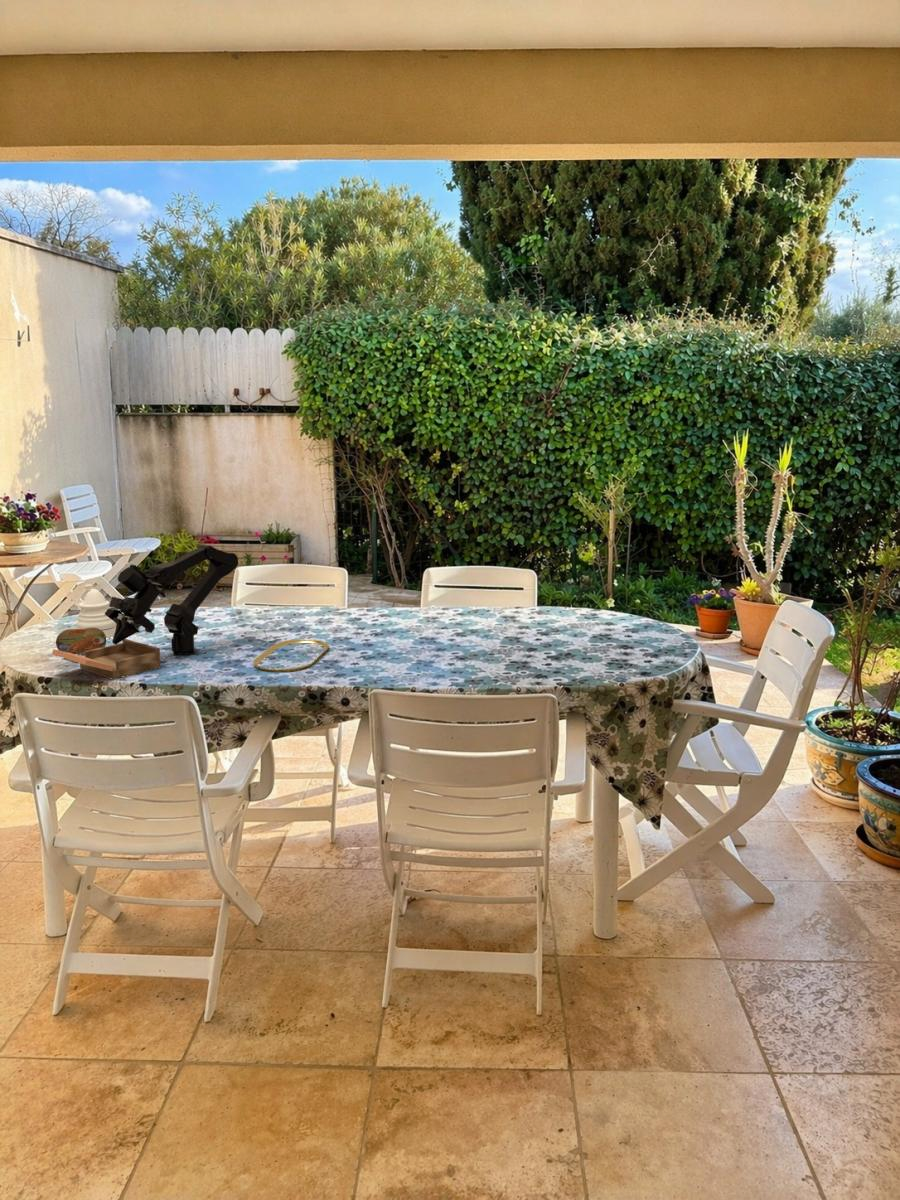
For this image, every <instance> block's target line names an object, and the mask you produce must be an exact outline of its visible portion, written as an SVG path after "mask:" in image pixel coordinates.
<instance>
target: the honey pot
mask: <svg viewBox="0 0 900 1200" xmlns="http://www.w3.org/2000/svg"><path fill="white" fill-rule="evenodd" d="M84 589H85V590H86V591H88V592H87V593H86V595H85V597H84V599H83V601H82V602H79V603H78V607H79V608H80V611H79V612H78V617H77V622H76V629H79V628H92V627H94V628H98V629H100V630H102V631H103V632H104V634H105V635H106V638H111V637H114V634H115V630H116V623H115V622H114V621H113V620H111V619H110V618H109V617H108V616H106V615H105V612H106V611H107V609H109V608H111V607H109V605H110V601H108V600H107V599H106V598H105V596H104V595H103V593H102V592H101V591H100V590H98V589H97V588H93V584H84ZM111 639H112V638H111Z"/></svg>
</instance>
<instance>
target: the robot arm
mask: <svg viewBox="0 0 900 1200" xmlns="http://www.w3.org/2000/svg"><path fill="white" fill-rule="evenodd" d="M204 561H209V563H208V564H209V565H208V570H207V571H206V572H205V574H204V575H203V576H202V578H201V579H200V580H199V581H198V582H197V584H196V585H195V587H194V588H192V590H191V592H190V593H189V594H188V595H187V596H186V597H185V599H184V600H183V601H182V603H178V604H177V603H172V604H171V606H170V607H169V609H168V610H166V611H165V615H164V616H163V617H164V618H163V623H164V625H165V628H167V631H168V632H169V634H172V638H171V640H170V641H171V652H172V653H173V655H174V656H178V655H194V654H195V651H196V647H195V646H196V645H195V636H196V635H198V633H199V632H198V631H199V627H198V626H197V625H196V624H195V623H194V621H195V614H196V611H197V610H198V608H199V607H201V605H202V603H203V602H204V601H205V600H206V598H207V597H208V596H209V594H210V593H211V592H212V591H213V590H214V588H215V587H216V586H217V585H218V582H220V581H221V579H222V578H225V577H226V576H228V575H230V574H231V573H233V571H234V570H235V569H237V567H238V566H239V558H238V556H237V554H235V553H234V552H229V551H222V550H220V549H217V548H215V547H213V546H212V545H208V544H207V545H206V544H201V545H199V546H198V547H197V548H195V549H193V550H191V551H190V552H187V553H185V554H183V555H181V556H180V557H177V558H176V559H173V560H172V561H171V560H170V561H169V562H163V563H159V564H154V565H152V566H150V568H149V569H147V570H145V571H142V570H141V569H140V568H139V567H138V565H135V564H131V565H129V567H126V568H125V569H123V570H122V571H120V572H119V574H118V577H117V581H118V582H119V583H120V585H122V586H123V587H124V588H126V589H128V591H130V592H131V593H133V594H134V593H136V594H135V595H134V597H128V596H125V597H124V598H120V597H115V596H111V600H110V601H109V603H110V604H109V607H110V608H109V609H107V611H106V612H105V615H106V616H108V617H109V618H110V619H111V620H113V621H114V622H115V623H116V630H115V634H114V637H113V638H112V642H111V643H112V645H115V644H120V643H122V642H123V640H124V639H127V638H130V637H131V636H133V635H136V634H137V633H140V631H141V630H139V629H140V628H141V627H142V628H144V629H145V630H144V631H145V632H146V633H150V634H152V633H153V631H154V630H155V623H154V622H153V621H152V620H150V619H148V617H146V614H147V613H151V612H152V610H153V609H151V607H152V606H153V604H154V603H155V601H156V599H157V598H158V597H160V598H166V593H165V589H164V588H161V587H158V586H157V585H159V586H164V587H167V586H169V585H171V584H172V583H173V582H175V581H176V580H177V579H178V577H179V576H180V575H181V574H182V573H183V572H186V571H188V570H189V569H191V568H193V567H195V566H197V565H199V564H201V563H202V562H204ZM149 582H150V583H149Z"/></svg>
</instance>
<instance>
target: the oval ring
mask: <svg viewBox="0 0 900 1200" xmlns="http://www.w3.org/2000/svg"><path fill="white" fill-rule="evenodd" d="M295 643H311V644H310V645H312V644H318V645H322V646H324V647H325V650H324V649H323V650H324V651H323V650H322V651H323V652H322V651H321V652H322V653H321V652H320V653H321V654H320V653H319V654H320V655H319V654H318V655H319V656H318V655H317V656H318V657H317V656H316V657H317V658H316V657H315V658H316V659H315V658H314V659H315V660H314V659H313V660H314V661H313V660H312V661H313V662H312V661H311V662H312V663H311V662H309V663H307V664H306V665H301V666H295V667H289V668H272V667H271V668H269V667H264V666H258V663H259V664H261V663H262V662H263V661H264V660H265V659H264V658H266V657H267V656H268V655H269V656H271V655H272V654H273V653H274V652H275V651H277V650H278V649H279V648H278V647H280V648H282V647H281V646H283V647H285V646H284V645H287V646H289V645H288V644H294V645H296V644H295ZM318 645H317V646H318ZM329 645H330V644H328V643H327V642H325V641H322V640H317V639H308V638H307V639H306V638H305V639H301V638H300V639H290V640H285V641H284V640H283V641H279V642H277V643H274V644H272V645H271V646H269V648H267V649H266V650H265V651H264V652H262V653H261V654H260V655H258V656H257V657H256V658H254V659H253V662H252V663H253V666H254V667H255V668H257V669H258V670H261V671H265V672H272V673H273V672H274V673H285V671H288V672H295V671H294V670H296V671H299V669H301V670H304V669H306V667H307V668H309V667H311V666H312V665H313V664H314V663H315V662H316V661H317V660H318V659H319V658H320V657H321V656H322V655H324V653H325V652H327V650H328V649H329V648H330V646H329ZM277 648H278V649H277ZM276 649H277V650H276ZM274 650H275V651H274ZM272 652H273V653H272ZM271 653H272V654H271ZM270 654H271V655H270ZM269 656H268V657H269ZM268 657H267V658H268ZM267 658H266V659H267ZM263 659H264V660H263ZM262 660H263V661H262ZM261 661H262V662H261ZM260 662H261V663H260ZM303 668H304V669H303Z"/></svg>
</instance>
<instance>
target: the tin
mask: <svg viewBox="0 0 900 1200" xmlns="http://www.w3.org/2000/svg"><path fill="white" fill-rule="evenodd" d="M106 644H107V640H106V635H105V634H104V632H103V631H102V630H100V629H98V628H94V627H92V628H79V629H77V628H68V629H65V630H63V631H61V632H60V633H59V634H58V635H57V637H56V639H55V646H56V648H57V649H56V650H59V651H63V652H67V653H72V654H82V655H85V654H84V653H85V651H88V650H93V649H97V648H102V647H106V646H107V645H106Z"/></svg>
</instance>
